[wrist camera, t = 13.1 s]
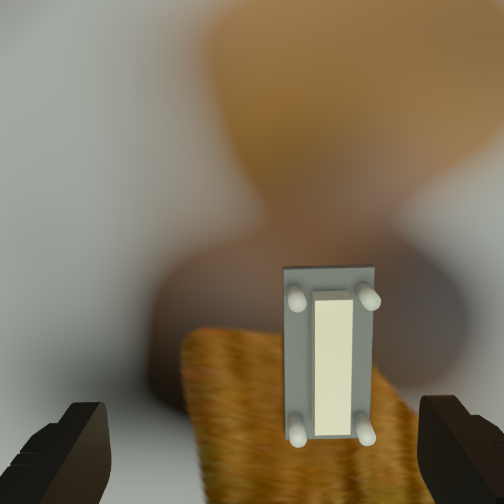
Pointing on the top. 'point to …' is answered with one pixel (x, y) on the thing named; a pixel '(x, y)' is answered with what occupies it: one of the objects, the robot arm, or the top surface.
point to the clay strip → (331, 362)
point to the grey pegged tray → (299, 346)
